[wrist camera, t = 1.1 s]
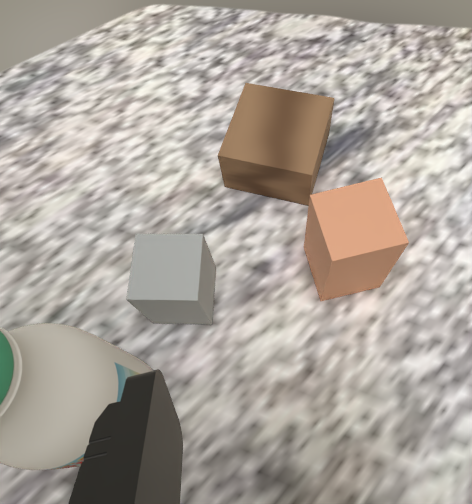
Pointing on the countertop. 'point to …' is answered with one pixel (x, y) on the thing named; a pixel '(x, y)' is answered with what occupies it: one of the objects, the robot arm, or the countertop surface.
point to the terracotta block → (352, 238)
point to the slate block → (172, 279)
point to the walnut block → (276, 142)
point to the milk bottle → (56, 392)
